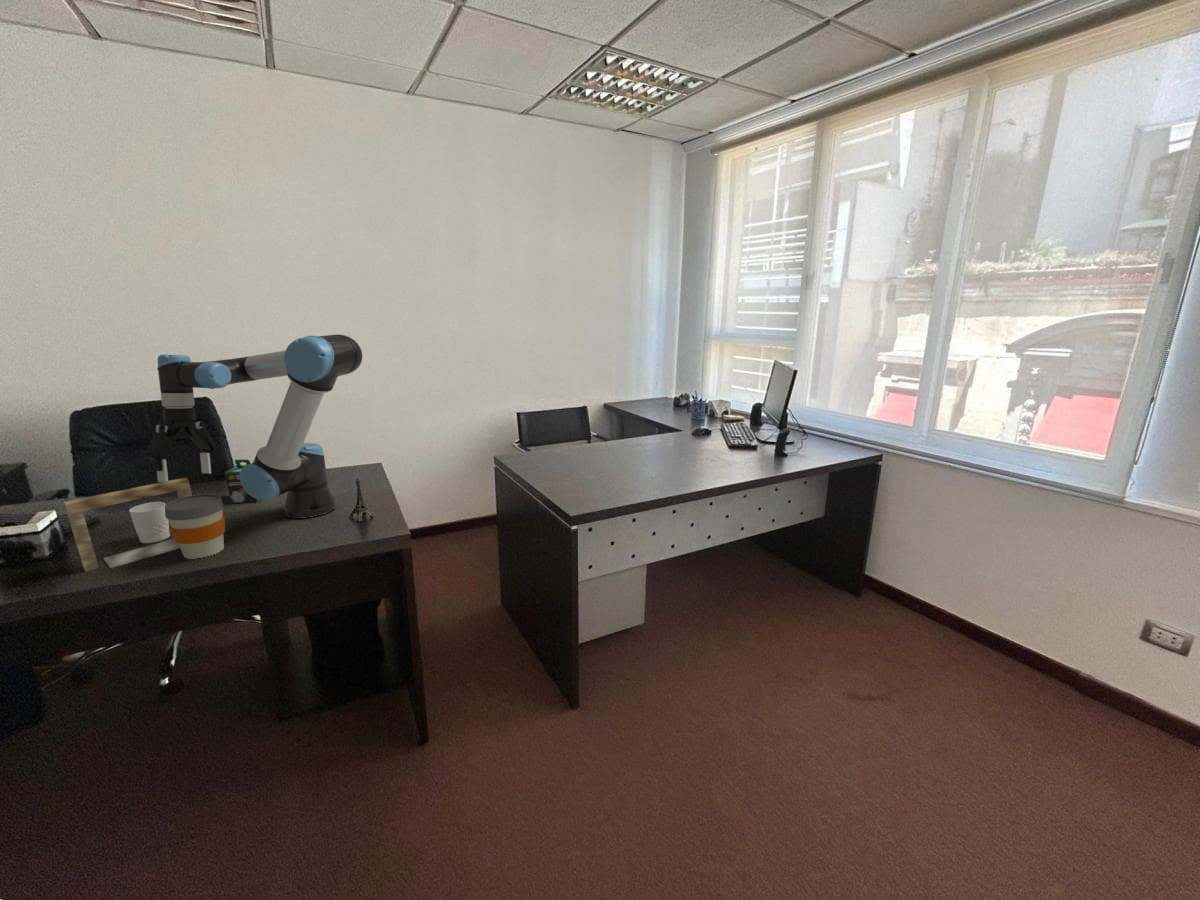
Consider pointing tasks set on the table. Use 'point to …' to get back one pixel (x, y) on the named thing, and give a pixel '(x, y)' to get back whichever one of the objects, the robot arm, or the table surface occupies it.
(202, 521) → the reusable coffee cup
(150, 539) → the white cup
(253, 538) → the table surface
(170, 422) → the robot arm
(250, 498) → the chalk box
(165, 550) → the bridge
